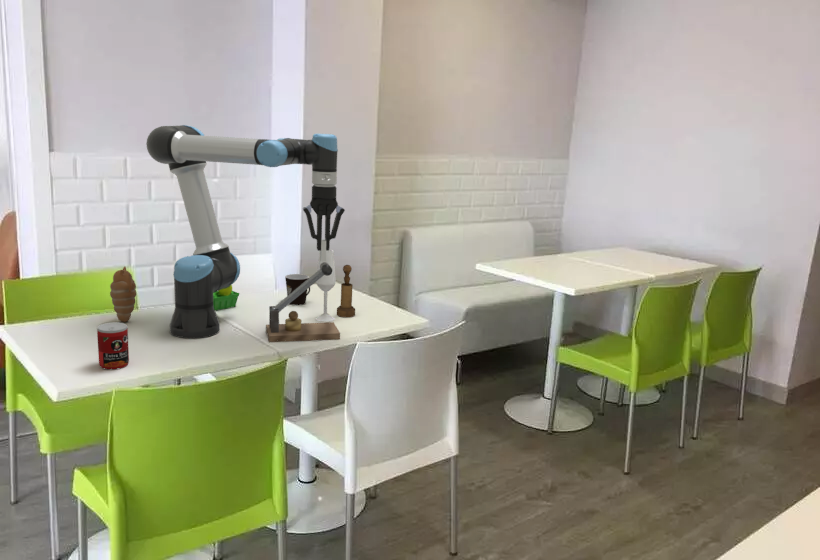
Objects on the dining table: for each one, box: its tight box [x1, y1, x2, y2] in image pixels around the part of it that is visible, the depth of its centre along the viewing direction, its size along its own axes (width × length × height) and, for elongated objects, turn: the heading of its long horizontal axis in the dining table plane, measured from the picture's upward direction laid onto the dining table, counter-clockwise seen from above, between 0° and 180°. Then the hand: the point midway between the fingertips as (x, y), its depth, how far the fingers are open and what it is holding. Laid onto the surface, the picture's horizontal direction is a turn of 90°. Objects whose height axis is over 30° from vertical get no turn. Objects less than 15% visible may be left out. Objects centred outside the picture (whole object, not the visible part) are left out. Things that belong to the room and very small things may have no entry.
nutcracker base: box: [265, 305, 341, 343], centre depth 231 cm, size 22×12×9 cm, turn 106°
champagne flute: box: [315, 248, 337, 323], centre depth 248 cm, size 7×7×24 cm
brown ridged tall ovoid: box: [109, 266, 137, 323], centre depth 235 cm, size 9×8×18 cm
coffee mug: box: [284, 273, 311, 306], centre depth 267 cm, size 12×9×10 cm
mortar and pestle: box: [336, 264, 356, 318], centre depth 255 cm, size 7×6×18 cm
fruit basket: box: [213, 284, 240, 311], centre depth 257 cm, size 11×9×11 cm
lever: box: [270, 262, 332, 313], centre depth 229 cm, size 24×6×3 cm
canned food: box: [96, 321, 130, 370], centre depth 198 cm, size 8×8×11 cm
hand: (322, 260), depth 229 cm, fingers closed
